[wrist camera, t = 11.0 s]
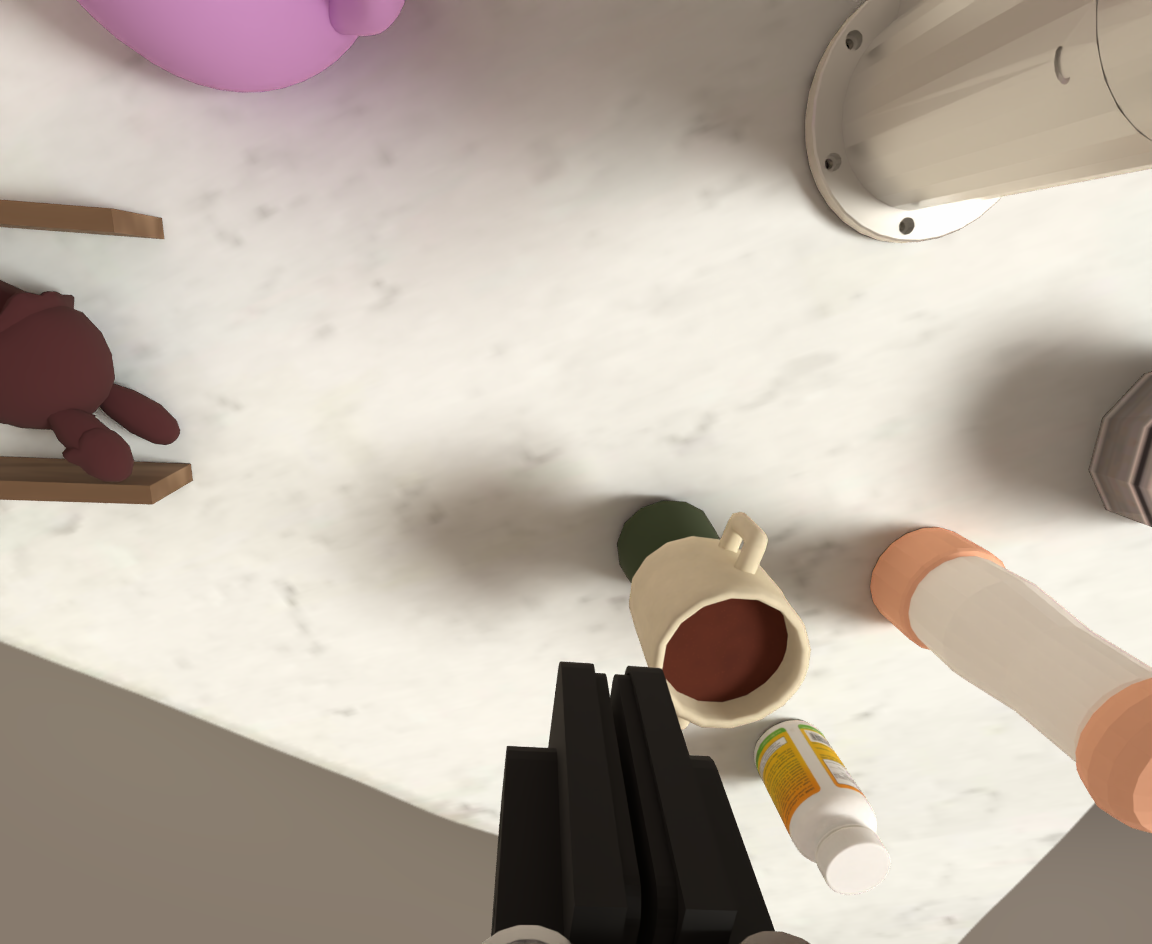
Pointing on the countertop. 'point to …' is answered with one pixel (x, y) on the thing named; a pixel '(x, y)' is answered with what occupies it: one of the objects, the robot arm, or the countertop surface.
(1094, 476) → the can
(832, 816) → the supplement bottle
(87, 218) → the frame
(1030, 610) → the salt shaker
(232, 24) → the teapot
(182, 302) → the countertop surface
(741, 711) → the character mug
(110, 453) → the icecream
